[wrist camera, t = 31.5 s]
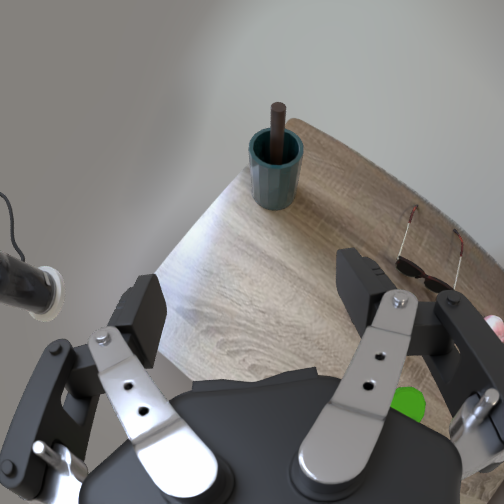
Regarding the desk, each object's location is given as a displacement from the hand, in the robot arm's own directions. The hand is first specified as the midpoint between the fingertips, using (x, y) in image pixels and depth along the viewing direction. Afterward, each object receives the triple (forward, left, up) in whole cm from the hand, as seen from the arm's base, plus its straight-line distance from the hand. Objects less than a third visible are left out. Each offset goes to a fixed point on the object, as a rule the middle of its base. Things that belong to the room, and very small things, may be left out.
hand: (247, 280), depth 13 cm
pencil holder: (-10, +24, -38) cm, 46 cm away
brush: (-10, +24, -37) cm, 45 cm away
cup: (+25, -3, -38) cm, 46 cm away
